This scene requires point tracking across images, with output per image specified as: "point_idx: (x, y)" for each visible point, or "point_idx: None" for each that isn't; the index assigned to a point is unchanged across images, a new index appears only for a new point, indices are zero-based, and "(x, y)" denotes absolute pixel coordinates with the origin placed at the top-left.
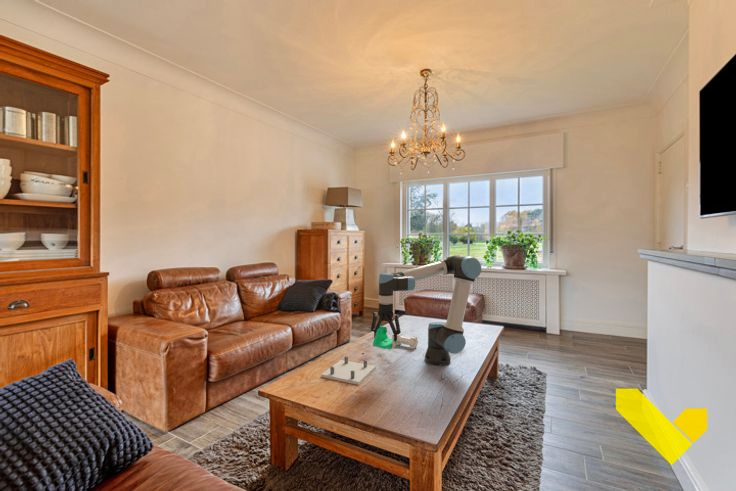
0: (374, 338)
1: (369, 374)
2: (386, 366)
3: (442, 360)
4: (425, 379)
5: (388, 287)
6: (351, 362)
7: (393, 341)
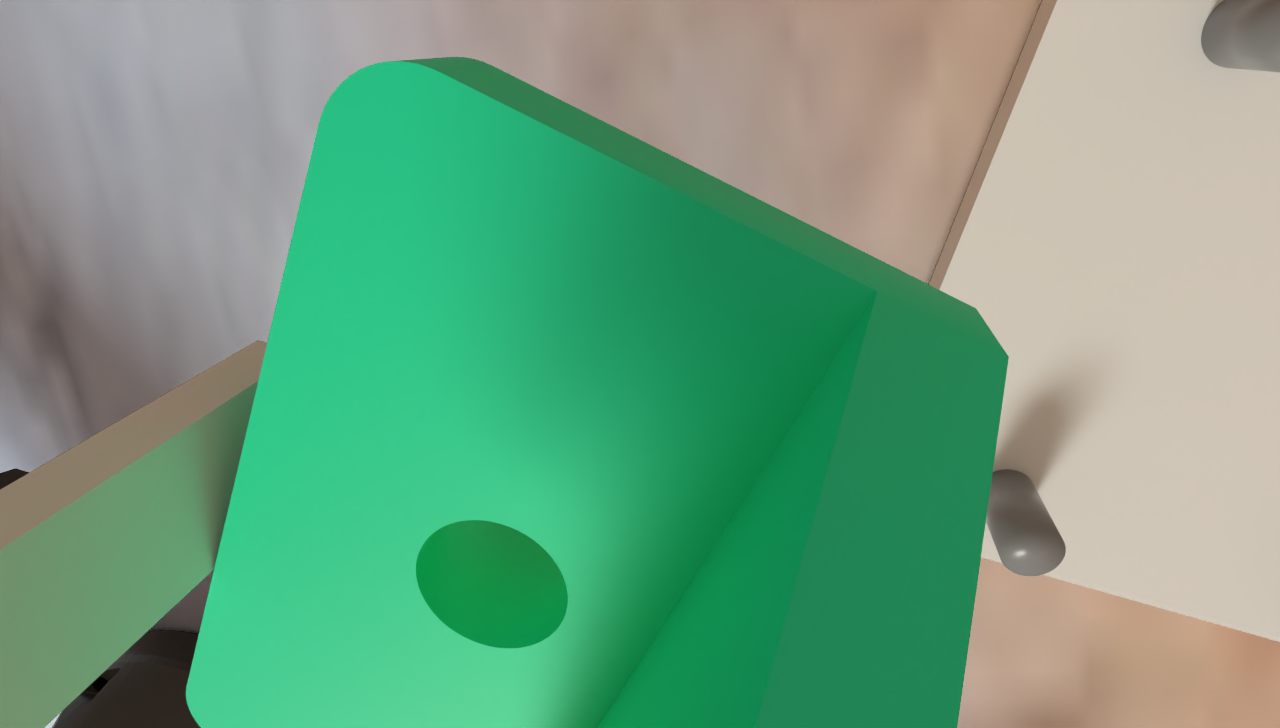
0: (976, 573)
1: None
2: None
3: (110, 677)
4: (199, 287)
5: None
6: (1242, 607)
7: (80, 443)
